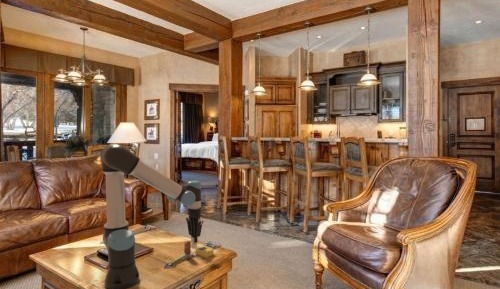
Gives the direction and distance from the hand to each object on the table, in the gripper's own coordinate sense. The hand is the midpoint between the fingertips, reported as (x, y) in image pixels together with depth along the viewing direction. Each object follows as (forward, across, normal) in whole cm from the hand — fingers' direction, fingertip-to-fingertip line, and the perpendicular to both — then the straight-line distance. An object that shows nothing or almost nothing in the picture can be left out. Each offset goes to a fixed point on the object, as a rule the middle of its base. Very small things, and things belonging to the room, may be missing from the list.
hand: (194, 247), depth 179 cm
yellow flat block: (+2, -8, 0) cm, 9 cm away
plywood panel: (+3, -2, -2) cm, 5 cm away
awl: (+3, -4, +9) cm, 10 cm away
